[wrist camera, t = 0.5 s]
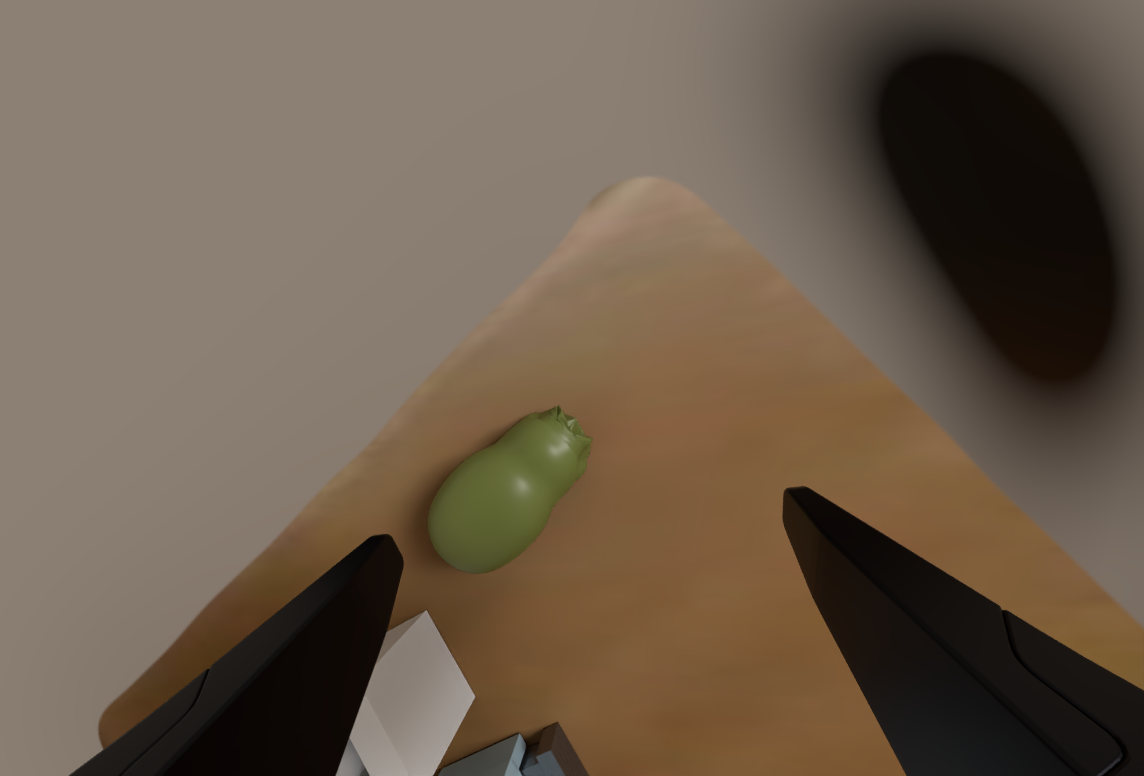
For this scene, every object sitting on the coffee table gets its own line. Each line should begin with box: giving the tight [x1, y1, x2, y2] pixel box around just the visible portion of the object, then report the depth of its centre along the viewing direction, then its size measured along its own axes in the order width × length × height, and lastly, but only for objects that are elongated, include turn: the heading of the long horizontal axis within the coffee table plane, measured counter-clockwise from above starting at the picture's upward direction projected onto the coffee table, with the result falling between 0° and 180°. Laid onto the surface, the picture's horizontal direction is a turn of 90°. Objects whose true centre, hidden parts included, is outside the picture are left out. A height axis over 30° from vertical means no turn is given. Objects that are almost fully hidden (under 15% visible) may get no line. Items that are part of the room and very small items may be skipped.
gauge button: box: [336, 738, 365, 776], centre depth 20 cm, size 4×4×6 cm
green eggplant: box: [428, 405, 593, 574], centre depth 22 cm, size 6×5×10 cm
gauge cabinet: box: [350, 610, 475, 776], centre depth 23 cm, size 6×8×6 cm
